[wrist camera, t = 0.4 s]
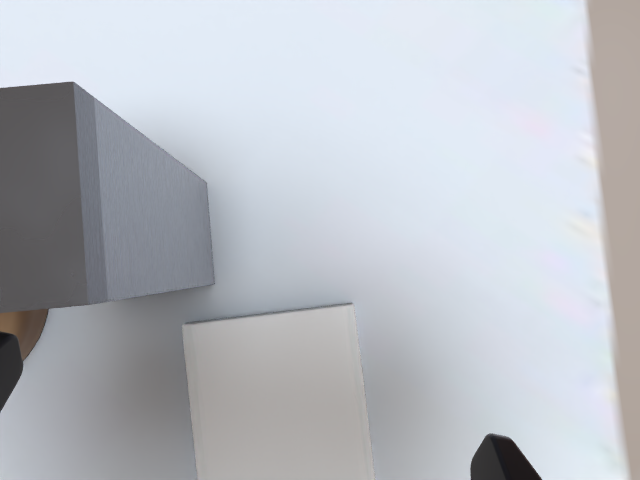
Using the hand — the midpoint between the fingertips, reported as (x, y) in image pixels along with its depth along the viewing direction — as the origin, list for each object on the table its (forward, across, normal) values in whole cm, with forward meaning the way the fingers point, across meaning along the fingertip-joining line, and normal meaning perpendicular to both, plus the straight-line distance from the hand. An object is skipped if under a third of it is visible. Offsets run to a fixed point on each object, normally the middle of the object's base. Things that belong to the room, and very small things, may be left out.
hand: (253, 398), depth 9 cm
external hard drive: (+9, -1, +13) cm, 16 cm away
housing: (+13, +7, +6) cm, 16 cm away
